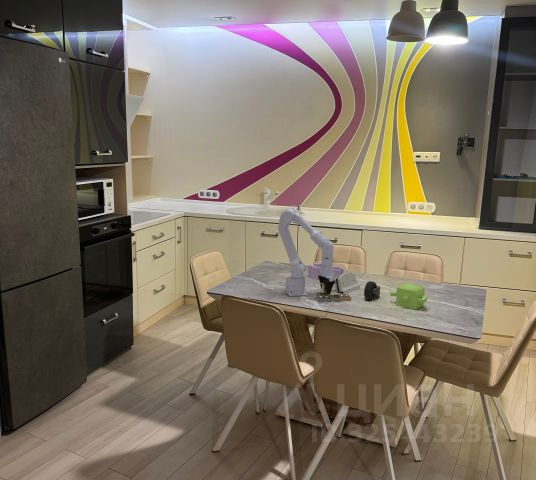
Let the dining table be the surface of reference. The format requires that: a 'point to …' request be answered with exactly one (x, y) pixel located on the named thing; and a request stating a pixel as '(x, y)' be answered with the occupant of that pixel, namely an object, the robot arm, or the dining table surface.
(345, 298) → the chain end right
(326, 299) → the chain end left
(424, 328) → the dining table surface
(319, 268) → the purple oblong basket
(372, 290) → the caster wheel
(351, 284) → the off-white striped device
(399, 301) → the gearbox
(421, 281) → the dining table surface
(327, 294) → the pin
